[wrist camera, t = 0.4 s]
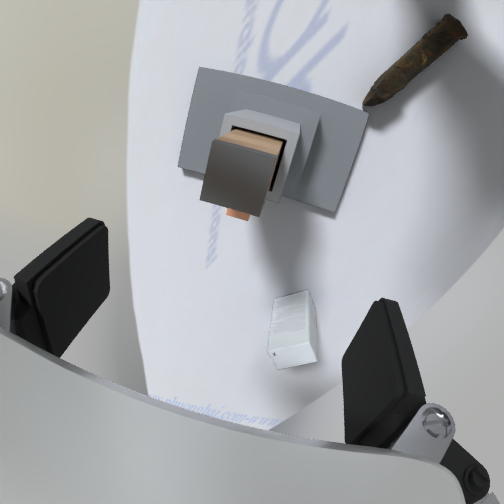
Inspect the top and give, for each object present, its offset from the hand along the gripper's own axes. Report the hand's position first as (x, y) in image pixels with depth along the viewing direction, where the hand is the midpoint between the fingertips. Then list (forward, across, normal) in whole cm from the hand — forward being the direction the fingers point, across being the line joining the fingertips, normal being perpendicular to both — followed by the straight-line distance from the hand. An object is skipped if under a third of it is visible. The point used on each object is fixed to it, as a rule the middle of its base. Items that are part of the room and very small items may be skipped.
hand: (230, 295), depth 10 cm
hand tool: (+34, -14, -16) cm, 40 cm away
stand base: (+33, +2, 0) cm, 33 cm away
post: (+27, +2, 0) cm, 27 cm away
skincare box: (+33, -8, +24) cm, 42 cm away
